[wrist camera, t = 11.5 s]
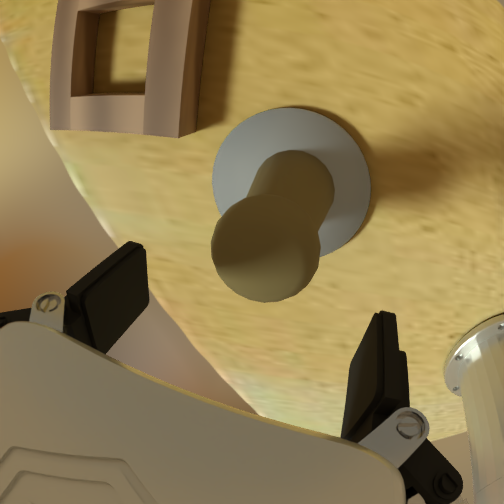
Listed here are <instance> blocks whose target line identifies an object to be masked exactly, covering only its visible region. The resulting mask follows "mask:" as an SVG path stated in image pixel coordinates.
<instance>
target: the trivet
mask: <svg viewBox="0 0 504 504" xmlns="http://www.w3.org/2000/svg"><path fill="white" fill-rule="evenodd" d="M287 150H297V151H304V152H306V153H308V154H311V155H313V156H315V157H317V158H318V159H319V160H320V161H321V162H322V163H323V164H324V165H326V167H327V169H328V170H329V172H330V174H331V175H332V178H333V182H334V187H335V193H334V201H333V204H332V206H331V208H330V210H329V211H328V213H327V215H326V217H325V219H324V221H323V223H322V225H321V227H320V229H319V231H318V235H319V239H320V244H321V250H320V257H322V256H324V255H327V254H329V253H331V252H333V251H335V250H337V249H338V248H340V247H341V246H343V245H344V244H345V243H346V242H348V241H349V240H350V239H351V237H352V236H353V235H354V234H355V233H356V232H357V230H358V229H359V227H360V226H361V224H362V222H363V220H364V218H365V216H366V213H367V210H368V207H369V202H370V194H371V183H370V175H369V171H368V167H367V164H366V161H365V159H364V156H363V154H362V152H361V150H360V148H359V146H358V145H357V143H356V142H355V141H354V139H353V138H352V137H351V136H350V135H349V134H348V132H347V131H346V130H345V129H344V128H342V127H341V126H340V125H338V124H337V123H336V122H335V121H333V120H331V119H329V118H328V117H326V116H324V115H321V114H319V113H317V112H314V111H310V110H306V109H301V108H277V109H271V110H268V111H264V112H261V113H258V114H256V115H254V116H252V117H250V118H248V119H246V120H245V121H243V122H242V123H240V124H239V125H238V126H237V127H236V128H235V129H233V130H232V131H231V133H230V134H229V135H228V136H227V137H226V139H225V140H224V142H223V143H222V145H221V147H220V149H219V151H218V153H217V156H216V159H215V163H214V167H213V174H212V185H213V193H214V198H215V202H216V204H217V207H218V210H219V212H220V214H221V216H223V214H224V213H225V212H226V211H227V210H228V209H229V208H230V206H232V205H234V204H235V203H237V202H239V201H240V200H242V199H244V198H246V196H247V194H248V192H249V189H250V187H251V185H252V182H253V180H254V178H255V175H256V173H257V171H258V169H259V167H260V166H261V165H262V164H263V162H264V161H265V160H266V159H267V158H269V157H271V156H272V155H274V154H276V153H277V152H282V151H287Z"/></svg>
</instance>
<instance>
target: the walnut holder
mask: <svg viewBox="0 0 504 504" xmlns="http://www.w3.org/2000/svg"><path fill="white" fill-rule="evenodd" d="M210 2H211V0H58V5H57V12H56V19H55V26H54V35H53V45H52V57H51V74H50V130H80V131H102V132H118V133H131V134H143V135H153V136H163V137H172V138H180V137H183V136H186V135H188V134H191V133H194V132H196V124H197V112H198V101H199V91H200V81H201V71H202V62H203V54H204V46H205V38H206V30H207V23H208V16H209V9H210ZM153 4H154V11H153V18H152V25H151V33H150V42H149V51H148V61H147V72H146V85H145V93H93V80H94V64H95V51H96V41H97V32H98V24H99V16H100V14H101V13H105V12H110V11H115V10H121V9H126V8H132V7H139V6H146V5H153Z"/></svg>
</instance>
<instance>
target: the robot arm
mask: <svg viewBox="0 0 504 504" xmlns="http://www.w3.org/2000/svg"><path fill="white" fill-rule="evenodd" d="M66 293H67V295H66V296H65V297H63V295H62V294H60V293H58V292H46V293H43V294H41V295H40V296H38V297H37V298H36V299H35V300H34V302H33V304H32V308H27V309H21V310H15V311H8V312H2V313H0V504H468V502H467V500H466V499H464V500H463V499H462V497H461V495H460V494H461V492H462V489H463V481H462V478H461V475H460V474H459V472H458V471H457V470H456V469H455V468H454V467H453V466H452V465H451V464H450V463H449V462H448V460H446V458H445V457H444V456H443V455H442V454H441V453H440V452H439V451H438V450H437V449H436V448H435V447H434V446H433V445H432V444H431V442H430V441H429V440H428V439H427V436H428V434H429V423H428V421H427V419H426V417H425V416H424V415H423V414H422V413H421V412H420V411H418V410H417V409H414V408H410V401H409V382H408V369H407V357H406V353H405V352H404V351H400V350H399V343H398V332H397V322H396V315H395V314H394V313H390V312H386V311H382V310H381V311H380V312H379V314H378V313H375V314H374V315H373V317H372V320H371V322H370V324H369V326H368V328H367V330H366V332H365V335H364V337H363V339H362V341H361V343H360V345H359V347H358V349H357V351H356V353H355V355H354V357H353V359H352V361H351V364H350V368H349V377H348V386H347V395H346V403H345V410H344V418H343V425H342V431H341V438H339V437H335V436H331V435H328V434H324V433H321V432H316V431H312V430H309V429H305V428H301V427H297V426H294V425H290V424H286V423H283V422H279V421H276V420H272V419H269V418H266V417H262V416H259V415H255V414H252V413H249V412H246V411H243V410H240V409H237V408H234V407H231V406H228V405H225V404H222V403H219V402H216V401H213V400H211V399H208V398H205V397H202V396H200V395H197V394H195V393H192V392H189V391H187V390H184V389H181V388H179V387H177V386H174V385H172V384H169V383H167V382H164V381H162V380H159V379H157V378H155V377H153V376H150V375H148V374H146V373H144V372H141V371H139V370H137V369H135V368H133V367H130V366H128V365H126V364H124V363H122V362H120V361H117V360H116V359H113V358H111V357H109V356H107V355H105V354H106V353H107V352H108V351H109V350H110V348H111V347H112V346H113V345H114V344H115V343H116V341H117V340H118V339H119V338H120V337H121V336H122V335H123V333H124V332H125V331H126V330H127V329H128V328H129V326H130V325H131V324H132V323H133V322H134V321H135V320H136V318H137V317H138V316H139V315H140V314H141V313H142V312H143V311H144V309H145V308H146V307H147V306H148V303H149V289H148V276H147V261H146V250H145V249H144V248H143V245H142V244H139V243H136V242H132V241H128V242H127V243H126V244H124V245H123V246H122V247H120V248H119V249H118V250H116V251H115V252H114V253H112V254H111V255H110V256H109V257H107V258H106V259H105V260H104V261H102V262H101V263H100V264H99V265H97V266H96V267H95V268H93V269H92V270H91V271H90V272H89V273H87V274H86V275H85V276H84V277H82V278H81V279H80V280H79V281H77V282H76V283H75V284H74V285H73V286H71V287H70V288H69V289H68V290H67V291H66ZM444 378H445V383H446V386H447V388H448V389H449V390H450V391H451V392H452V393H454V394H455V395H458V396H461V397H462V401H463V406H464V412H465V418H466V424H467V431H468V438H469V445H470V454H471V464H472V477H473V495H474V504H504V314H502V315H499V316H496V317H494V318H491V319H489V320H487V321H485V322H483V323H481V324H480V325H478V326H477V327H475V328H474V329H472V330H471V331H470V332H469V333H467V334H466V335H465V336H464V337H463V338H462V339H461V340H460V341H459V342H458V343H457V344H456V345H455V347H454V348H453V349H452V351H451V352H450V354H449V356H448V358H447V360H446V362H445V366H444Z"/></svg>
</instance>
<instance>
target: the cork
mask: <svg viewBox="0 0 504 504" xmlns="http://www.w3.org/2000/svg"><path fill="white" fill-rule="evenodd" d="M334 193H335V187H334V182H333V178H332V175H331V174H330V172H329V170H328V169H327V167H326V165H324V164H323V163H322V162H321V161H320V160H319V159H318V158H317V157H315V156H313V155H311V154H308V153H306V152H304V151H297V150H287V151H282V152H277V153H276V154H274V155H272V156H271V157H269V158H267V159H266V160H265V161H264V162H263V164H262V165H261V166H260V167H259V169H258V171H257V173H256V175H255V178H254V180H253V182H252V185H251V187H250V189H249V192H248V194H247V196H246V198H244V199H242V200H240V201H239V202H237V203H235V204H234V205H232V206H230V208H229V209H228V210H227V211H226V212H225V213H224V214H223V216H222V217H221V218H220V219H219V221H218V222H217V224H216V227H215V230H214V233H213V237H212V240H211V256H212V259H213V262H214V265H215V267H216V270H217V273H218V275H219V276H220V277H221V279H222V280H223V281H224V283H225V284H226V285H227V286H228V287H229V288H230V289H232V290H233V291H234V292H235V293H237V294H238V295H241V296H243V297H245V298H247V299H249V300H253V301H258V302H264V303H266V302H278V301H281V300H284V299H287V298H289V297H292V296H294V295H296V294H298V293H299V292H300V291H301V290H302V289H304V288H305V287H306V286H307V285H308V284H309V282H310V281H311V279H312V277H313V276H314V274H315V272H316V270H317V269H318V264H319V258H320V250H321V244H320V239H319V235H318V231H319V229H320V227H321V225H322V223H323V221H324V219H325V217H326V215H327V213H328V211H329V210H330V208H331V206H332V204H333V201H334Z"/></svg>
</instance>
